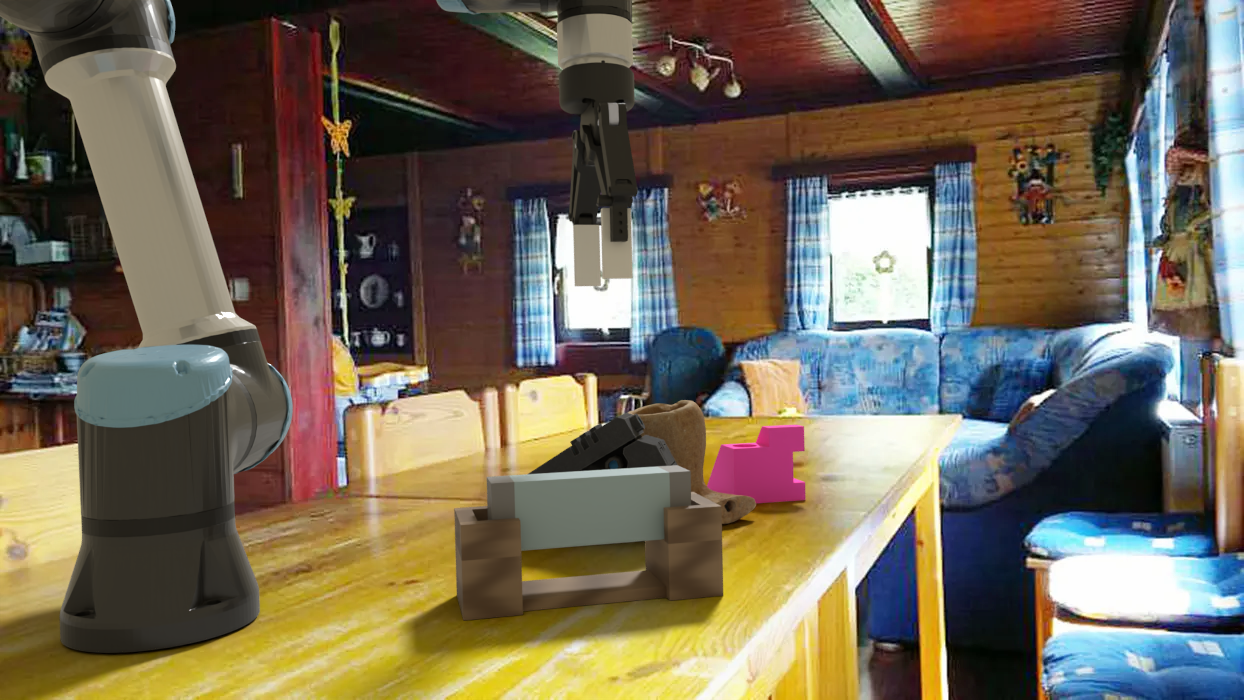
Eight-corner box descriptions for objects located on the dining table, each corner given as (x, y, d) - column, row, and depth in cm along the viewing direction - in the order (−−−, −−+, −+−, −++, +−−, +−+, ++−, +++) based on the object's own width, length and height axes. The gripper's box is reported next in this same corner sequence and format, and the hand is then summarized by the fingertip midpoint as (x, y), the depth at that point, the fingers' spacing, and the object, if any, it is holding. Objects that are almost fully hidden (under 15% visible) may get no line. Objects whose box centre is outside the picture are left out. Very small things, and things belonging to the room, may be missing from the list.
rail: (493, 552, 81) (491, 483, 81) (488, 543, 85) (486, 476, 85) (692, 537, 86) (690, 471, 86) (679, 528, 90) (677, 465, 89)
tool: (702, 523, 102) (631, 403, 103) (555, 606, 105) (488, 489, 107) (708, 512, 108) (641, 399, 109) (569, 591, 111) (506, 480, 113)
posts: (463, 620, 79) (460, 525, 79) (456, 594, 87) (454, 508, 86) (723, 595, 84) (721, 506, 84) (695, 573, 92) (693, 491, 92)
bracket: (805, 500, 130) (804, 426, 130) (734, 505, 128) (733, 429, 127) (772, 487, 142) (771, 418, 141) (707, 491, 139) (705, 421, 139)
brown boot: (604, 522, 118) (601, 403, 118) (660, 507, 127) (657, 396, 127) (706, 536, 109) (703, 406, 108) (758, 518, 118) (756, 399, 118)
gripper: (668, 32, 83) (673, 274, 83) (605, 101, 107) (609, 288, 108) (584, 28, 81) (590, 275, 82) (539, 98, 105) (544, 289, 106)
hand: (601, 283), depth 95 cm, fingers open, 13 cm apart
